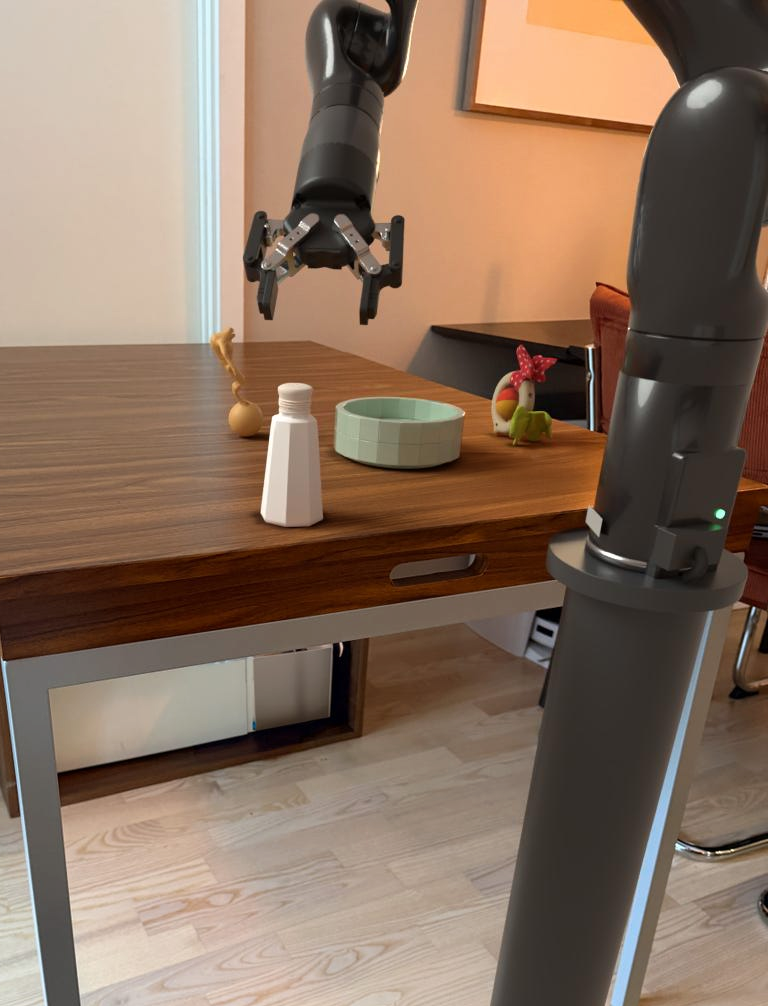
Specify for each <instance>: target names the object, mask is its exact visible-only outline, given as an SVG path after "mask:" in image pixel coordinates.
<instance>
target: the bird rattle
mask: <svg viewBox="0 0 768 1006" xmlns="http://www.w3.org/2000/svg"><path fill="white" fill-rule="evenodd" d="M516 356H517V360H518V364H519V367H520V369H518V370H515V371H510V372H508V373H507V374H505V375H504V376H503V377H502V378H501V379H500V380H499V382H498V383H497V385H496V387H495V389H494V393H493V395H492V400H491V419H492V424H493V428H492V429H493V432H492V433H493V435H494V436H495V435H496V436H503V435H508V436H509V438H510V439H514V440H513V441H512V445H513V446H517V444H519V442H520V440H521V439H522V438H523V436H524V435H525V437H526V439H527V440H529V441H530V442H537V441H538V440H540V439H541V437H542V436H543V434H544V435H545V438H546V439H548V440H551V439H553V431H552V425H553V420H552V417H551V416H550V414H549V413H548V412H546V411H541V410H540V411H534V408H535V399H536V397H535V396H536V392H535V385H536V383H535V381H536V382H538V383H544V382H545V381H546V379H547V378H546V374H545V371H546V370H548V369H549V368H551V367H552V366H553V365H555V364H556V363H557V362H558V358H554V357H543V356H542V355H541V354H538V355H535V356H533V358H531V356H530V354H529V352H528V351H527V349H526V347H525V346H524V345H523V344H520V345H518V347H517V349H516Z"/></svg>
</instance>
